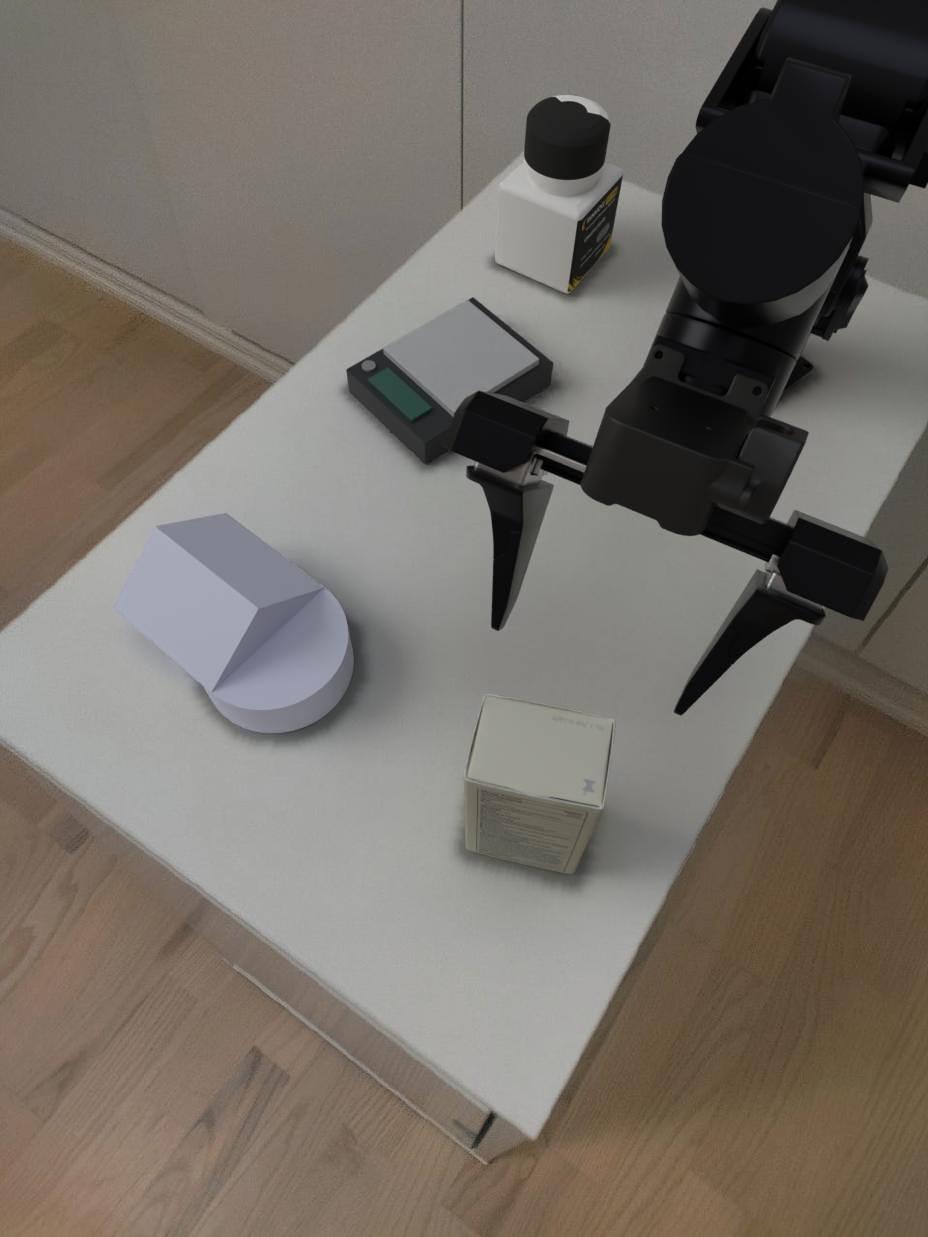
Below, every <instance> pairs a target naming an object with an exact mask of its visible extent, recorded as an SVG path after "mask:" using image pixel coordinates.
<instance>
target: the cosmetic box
mask: <svg viewBox="0 0 928 1237" xmlns="http://www.w3.org/2000/svg"><path fill="white" fill-rule="evenodd" d="M615 733H616V721H615V719H614V718H611V717H606V716H603V715H599V714H594V713H590V712H587V711H583V710H582V711H581V710H577V709H571V708H567V707H562V706H557V705H553V704H547V703H543V702H536V701H532V700H527V699H521V698H516V697H510V696H505V695H500V694H494V693H485V694H484V695H483V697H482V701H481V705H480V708H479V712H478V715H477V719H476V722H475V726H474V730H473V732H472V738H471V742H470V745H469V749H468V754H467V758H466V762H465V766H464V772H463V792H464V793H463V794H464V796H463V798H464V800H463V801H464V802H463V803H464V831H465V832H464V834H465V836H464V837H465V849H466V850H467V851H469V852H471V853H477V854H479V855H483V856H488V857H492V858H496V859H499V860H504V861H509V862H512V863H515V864H521V865H524V866H529V867H534V868H537V869H543V870H545V871H552V872H557V873H561V874H567V875H573V874H575V873H576V870H577V868H578V866H579V863H580V861H581V860H582V856H583V854H584V852H585V850H586V848H587V846H588V844H589V841H590V839H591V837H592V835H593V832H594V831H595V828H596V826H597V823H598V822H599V820H600V817H601V815H602V813H603V811H604V808H605V802H606V796H607V790H608V784H609V778H610V772H611V766H612V758H613V750H614V744H615Z"/></svg>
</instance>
